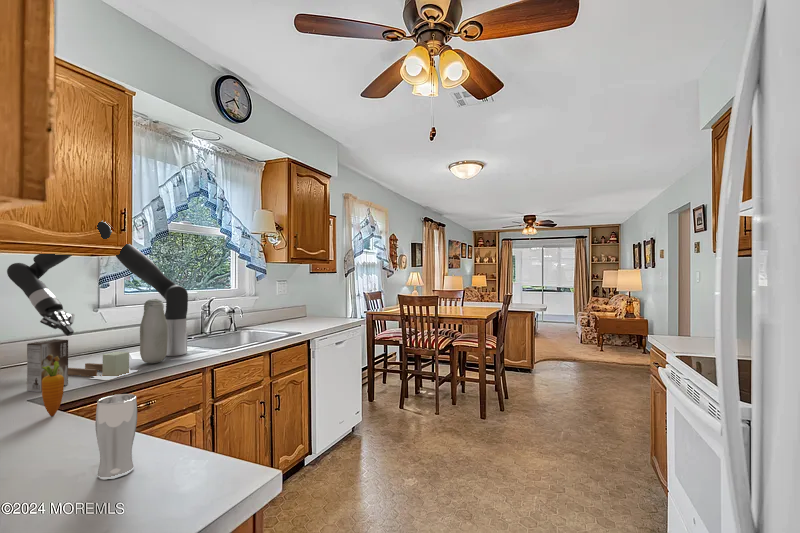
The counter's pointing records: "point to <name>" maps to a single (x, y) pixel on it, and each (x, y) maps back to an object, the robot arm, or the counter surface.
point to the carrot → (52, 389)
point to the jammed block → (115, 364)
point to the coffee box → (45, 361)
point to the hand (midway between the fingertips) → (70, 334)
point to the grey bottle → (153, 332)
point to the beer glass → (116, 433)
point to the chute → (86, 370)
